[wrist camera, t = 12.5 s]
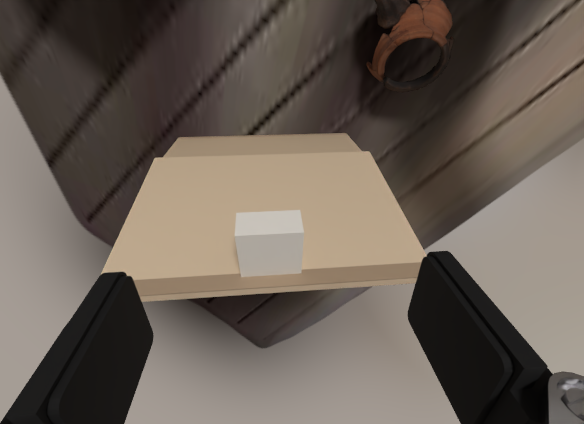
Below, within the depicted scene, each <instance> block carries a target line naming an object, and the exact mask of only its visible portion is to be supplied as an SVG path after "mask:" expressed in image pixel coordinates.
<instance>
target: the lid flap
mask: <svg viewBox="0 0 584 424" xmlns="http://www.w3.org/2000/svg"><path fill="white" fill-rule="evenodd" d="M424 257H427V255H426V253H425V252H424V250H423V248H422V246H421V244H420V243H419V241H418V239H417V237H416V235H415V233H414V232H413V230H412V228H411V226H410V224H409V223H408V221H407V219H406V217H405V215H404V213H403V212H402V210H401V208H400V206H399V204H398V203H397V201H396V199H395V197H394V195H393V193H392V192H391V190H390V188H389V186H388V184H387V183H386V181H385V179H384V177H383V175H382V174H381V172H380V170H379V168H378V166H377V164H376V163H375V161H374V159H373V157H372V155H371V154H370V152H369V151H366V152H333V153H300V154H267V155H234V156H201V157H168V158H155V159H154V161H153V163H152V165H151V167H150V169H149V172H148V174H147V176H146V178H145V180H144V182H143V185H142V187H141V189H140V191H139V193H138V195H137V198H136V200H135V202H134V204H133V206H132V208H131V210H130V213H129V215H128V217H127V219H126V221H125V223H124V226H123V228H122V230H121V232H120V234H119V236H118V238H117V241H116V243H115V245H114V247H113V249H112V251H111V254H110V256H109V258H108V260H107V263H106V264H105V266H104V269H103V271H102V273H101V274H103V273H108V272H125V273H126V274H127V276H131V277H132V278H133V281H134V283H135V286H136V288H137V291H138V294H139V296H140V299H141V302H147V301H161V300H176V299H191V298H205V297H220V296H234V295H249V294H264V293H278V292H293V291H308V290H322V289H337V288H351V287H366V286H381V285H395V284H410V283H416V280H417V277H418V273H419V270H420V266H421V262H422V259H423V258H424Z"/></svg>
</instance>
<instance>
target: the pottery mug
mask: <svg viewBox="0 0 584 424" xmlns="http://www.w3.org/2000/svg"><path fill="white" fill-rule="evenodd" d="M410 1H411V0H375V2H376V4H377V8H376V14H377V16H378V17H377V20H378V24H379V25H380V26H381V27H383V28H385V29H389V28H391V27H393V29H392V31H391V33H390V34H389V35H388V34H385V33H383V34H382V36H381V38H380V40H379V42H378V45H377V47H376V49H375V53H374V57H373V61H372V64H371V63H370V62H367V63H366V64H367V67H368V69H369V70H370V72H371V74H372V75H373V76H374V77H375V78H377V79H378V81H380V82H383V83H384V86H385V87H386V88H388V89H390V90H393V91H396V92H408V91H414V90H418V89H420V88H422V87H425V86H427V85H428V84H430V83H432V82H433V81H434V80H435V79H436V78H438V77H439V75H440V74H441V73H442V72H443V70H444V69H445V67H446V65H447V64H448V61H449V59H450V51H451V48H452V46H453V42H454V38H453V37H452V36H451V37H450V39H447V38H445V36H446V35H447V34H448V32H449V30H450V29H451V26H452V24H453V22H452V16H451V13H450V12H449V10H448V7H447V5H446V3H445V2H444V0H412V1H413V2H415V3H413V4H410ZM416 38H428V39H431V40H433V41H435V42H436V43H437V44H438V45H439V46H440V48H441V56H440V59H439V61H438V63H437V65H436V66H434V67H433V69H432V70H431V71H430V72H428V73H427V74H426V75H424V76H422V77H420V78H417V79H415V80H412V81H406V82H396V81H393V80H391V79H389V78H388V77H386V76H385V75H384V72H385V63H386V60H387V58H388V57H389V55H390V54H391V53H392V52H393V50H394V49H395V48H396V47H397V46H398V45H400V44H402V43H404V42H406V41H409V40H411V39H416Z"/></svg>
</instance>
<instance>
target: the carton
mask: <svg viewBox="0 0 584 424" xmlns="http://www.w3.org/2000/svg"><path fill="white" fill-rule="evenodd" d="M333 152H362V151H361V150H360V148H359V147H358V146H357V145H356V144H355V143H354V142H353V141H352V140H351V138H350V137H349V136H348V135H347V134H346V133H330V134H290V135H249V136H209V137H179V138H178V139H177V140H176V141H175V143H174V144H173V145H172V146H171V148H170V149H169V150H168V151H167V153H166V154H165V155H164V157H163V158H168V157H201V156H234V155H267V154H300V153H333Z"/></svg>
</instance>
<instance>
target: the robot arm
mask: <svg viewBox="0 0 584 424" xmlns="http://www.w3.org/2000/svg"><path fill="white" fill-rule="evenodd" d="M408 320H409V322H410V325H411V327H412V329H413V331H414V333H415V334H416V336H417V338H418V340H419V342H420V344H421V346H422V348H423V350H424V352H425V354H426V356H427V358H428V360H429V362H430V364H431V366H432V368H433V370H434V372H435V374H436V376H437V378H438V380H439V381H440V383H441V386H442V388H443V389H444V391H445V393H446V395H447V397H448V399H449V401H450V403H451V405H452V407H453V409H454V411H455V413H456V415H457V417H458V419H459V421H460V423H461V424H584V376H581V375H578V374H575V373H570V372H558V373H554V374H552V373H551V372H550V370H549V369H548V368H547V365H546V364H545V362H544V361H543V360H542V359H541V358H540V357H539V355H538V354H537V353H536V352H535V351H534V350H533V349H532V347H531V346H530V345H529V344H528V343H527V341H526V340H525V339H524V338H523V337H522V336H521V334H520V333H519V332H518V331H517V330H516V329H515V327H514V326H513V325H512V324H511V323H510V322H509V321H508V319H507V318H506V317H505V316H504V315H503V313H502V312H501V311H500V310H499V309H498V308H497V306H496V305H495V304H494V303H493V302H492V301H491V299H490V298H489V297H488V296H487V295H486V294H485V293H484V291H483V290H482V289H481V288H480V287H479V286H478V284H477V283H476V282H475V281H474V280H473V279H472V277H471V276H470V275H469V274H468V273H467V271H465V269H464V268H463V267H462V266H461V265H460V263H459V262H458V261H457V260H456V259H455V258H454V256H453V255H452V254H451V253H450V252H448V251H439V252H429V253H428V254H427V257H424V258H423V259H422V262H421V266H420V270H419V273H418V277H417V280H416V284H415V288H414V291H413V295H412V299H411V302H410V306H409V310H408ZM152 342H153V331H152V328H151V326H150V323H149V320H148V318H147V315H146V312H145V310H144V307H143V304H142V302H141V299H140V296H139V294H138V291H137V288H136V286H135V283H134V281H133V278H132V277H131V276H127V274H126V273H125V272H108V273H103V274H101V275H100V276H99V278H98V279H97V281H96V282H95V284H94V285H93V287H92V288H91V290H90V291H89V293H88V295H87V296H86V297H85V299H84V301H83V302H82V303H81V305H80V306H79V308H78V309H77V311H76V312H75V314H74V315H73V317H72V318H71V320H70V321H69V323H68V324H67V325H66V326H65V327H64V329H63V330H62V332H61V333H60V335H59V336H58V338H57V339H56V341H55V342H54V344H53V345H52V347H51V348H50V350H49V351H48V353H47V354H46V356H45V357H44V359H43V360H42V362H41V363H40V365H39V366H38V368H37V369H36V371H35V372H34V374H33V375H32V377H31V378H30V379H29V381H28V383H27V384H26V386H25V387H24V389H23V390H22V391H21V393H20V394H19V396H18V398H17V399H16V401H15V402H14V403H13V405H12V407H11V408H10V409H9V411H8V412H7V414H6V415H5V417H4V418H3V420H2V421H1V423H0V424H124V422H125V420H126V417H127V414H128V411H129V408H130V405H131V402H132V400H133V397H134V394H135V391H136V388H137V386H138V382H139V380H140V377H141V374H142V371H143V368H144V366H145V363H146V360H147V357H148V354H149V351H150V349H151V346H152Z"/></svg>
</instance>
